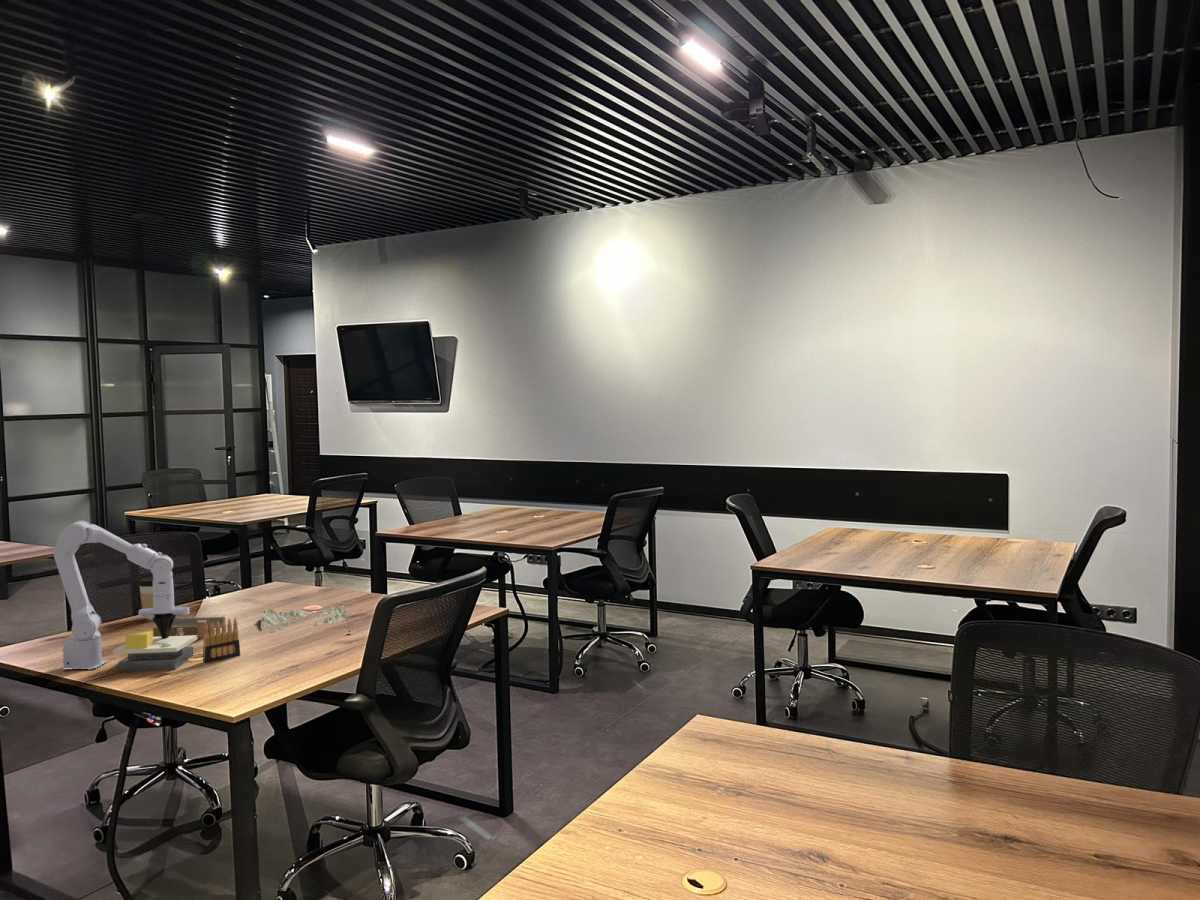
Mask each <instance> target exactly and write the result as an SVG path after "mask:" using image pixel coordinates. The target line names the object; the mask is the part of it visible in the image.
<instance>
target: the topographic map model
mask: <svg viewBox="0 0 1200 900" xmlns="http://www.w3.org/2000/svg"><path fill="white" fill-rule="evenodd" d="M321 611H322V613H320V614H318V616H322V615H326V614H331V615H336V614H339V613H342V614H341V615H340V614H339V615H336V616H335V618H331V617H330V615H327V616H329V617H327V618H326V619H325V620H324V621H323V623H328V624H331V623H332V622H339V621H342V620H347V621H348V615H347V612H346V611H347V610H346V607H345V602H342V603H341V604H340V605H339V606H338V607H333V606H331V607H330V608H326V609H322V610H321ZM323 611H325V612H323ZM312 613H314V612H313V611H306V610H304V609H303V610H298V609H292V610H289V611H286V612H283V611H280V613H279V612H277V611H276V610H273V609H267V610H262V611H261V614H260V615H261V620H260V630H261V629H262V628H263V627H265V626H271V625H277V624H278V623H284V624H283V626H288V625H291V624H289V623H291V622H288V621H297V620H290V619H287V618H286V617H294V618H295V617H296V618H299V617H305V616H308V615H306V614H312ZM315 617H316V616H315ZM323 617H326V616H323ZM319 618H321V617H319ZM320 624H322V622H320V623H319V622H315V624H314V625H313V626H319V625H320ZM279 630H284V628H279V629H278V630H276V629H275V630H273V631H272V630H270V631H269V632H270V633H275V632H278V631H279Z"/></svg>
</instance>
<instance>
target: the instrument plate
mask: <svg viewBox="0 0 1200 900" xmlns="http://www.w3.org/2000/svg"><path fill="white" fill-rule="evenodd" d="M197 640H198V637H197V635H190V636H183V635H180V636H169V637H168V638H166V639H162V637H153V630H151V631H150V630H149V631H148V630H146V631H131V632H129V633H127V634H125V643H123V644H121V645H120V646H118V647H115V648H114V649H112V655H125V654H126V655H128V654H131V653H158V652H177V651H179V650H180V649H182V648H184V647H188V646H189V645H190V644H192V643H193V642H195V641H197Z"/></svg>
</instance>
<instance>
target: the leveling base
mask: <svg viewBox="0 0 1200 900" xmlns="http://www.w3.org/2000/svg"><path fill="white" fill-rule="evenodd" d="M192 656H193V657H194V646H185V647H184V648H182V649H180V650H179V651H177V652H158V653H131V654H127V656H125V657H124V658H122V659H121V660H119V661H118V663H117V665H118V672H119V671H129V672H150V671H151V672H152V671H154V672H155V671H175V670H177V669H178V668H179V667H181V666H182V665H183V663H184V664H185V663H186V662H188V661H189V660H190V659H191V658H190V657H192ZM193 657H192V658H193ZM189 658H190V659H189ZM188 659H189V660H188ZM187 660H188V661H187Z"/></svg>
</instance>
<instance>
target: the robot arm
mask: <svg viewBox="0 0 1200 900" xmlns="http://www.w3.org/2000/svg"><path fill="white" fill-rule="evenodd" d="M86 541H87V544H93V543H94V544H95V543H96V544H97V543H101V544H103V545H104V546H107V547H109V548H111V549H114V550H116V551H118V552H121V553H123V554H125V555H126V556H125V557H126V559H127V561H130V562H132V563H133V564H135V565H138V566H140V567H142V568H144V569H146V570H150V573H151V574H152V577H153V603H154V608H149V609H143V608H141V609H139V610H138V617H144V616H153V615H154V618H153V620H152V621H153V622H154V625H155V626H156V627H158V629H159V631H160V634H161V637H162V639H166V638H168V637H169V633H170V629H171V626H172V623H173V621H174V619H175V618H177V616H176V615H178V616H179V615H183V616H185V615H186V616H189V615H190V614H191V613H190V612H191V610H190V606H187V607H186V606H175V594H174V593H175V592H174V591H175V589H174V588H175V587H174V586H175V585H174V579H173V576H174V573H173V571H172V570H173V568H174V561H173V559H172V558H171V557H170V556H168V554H163V553H162V552H161V551H158V552H157V551H156V550H153V549H152V548H149V547H148V544H146V543H134V544H132V543H130V542H128V541H126V540H124V539H123V538H121V537H120V536H117V535H115V534H113V533H112V532H110V531H109V530H106V529H105V528H103V527H101V526H98V525H96V524H94V523H90V522H89V521H87V520H82V519H81V520H76V521H74V522H73V523H71V524H69V525H67V526H66V527H65V528H64V529H62V531H61V532H60V533H59V534H58V540H57V542H56V545H55V547H54V548H55V549H54V551H53V559H54V561H55V564H56V567H57V571H58V574H59V576H60V579H61V582H62V585H63V588H64V592H65V595H66V598H67V601H68V604H69V607H70V610H71V615H70V616H71V621H72V626H71V634H72V637H69V638H66V640H65V641H64V643H63V647H62V657H63V668H72V669H73V668H74V669H76V668H77V669H82V668H83V669H84V668H96V669H98V668H100V667H101V666H103V665H104V663H105V664H106V663H108V662H109V661H108V659H107V660H105V659H103V657H102V656H103V655H102V633H100V631H99V629H100V627H101V625H102V619H101V616H100V615H99V614H97V612H96V611H95V609H94V607H93V605H92V604H91V602H90V599H89V597H88V594H87V590H86V587H85V584H84V582H83V577H82V575H81V572H80V568H79V566H78V562H77V560H76V556H75V554H76V552H77V551H79V550H78V549H79V548H80V547H81V545H82V544H83V543H85V542H86ZM107 661H108V662H107ZM102 664H103V665H102ZM99 666H100V667H99ZM97 667H98V668H97Z"/></svg>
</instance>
